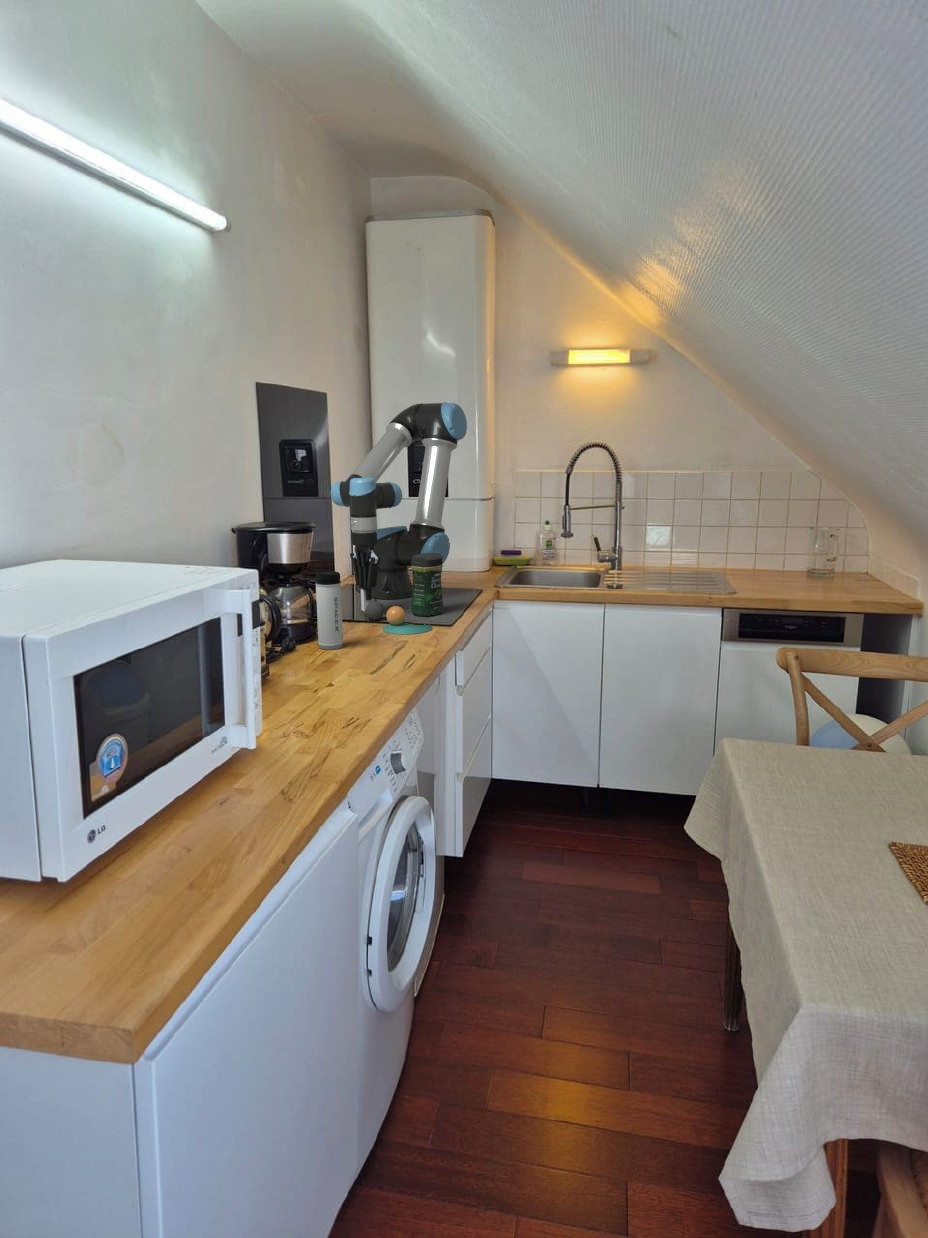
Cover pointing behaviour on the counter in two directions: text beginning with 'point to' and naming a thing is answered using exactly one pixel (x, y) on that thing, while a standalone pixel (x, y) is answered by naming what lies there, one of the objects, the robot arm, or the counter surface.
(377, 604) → the dark gray ball
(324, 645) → the travel mug
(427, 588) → the coffee jar
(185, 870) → the counter surface
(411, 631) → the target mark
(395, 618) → the orange ball
